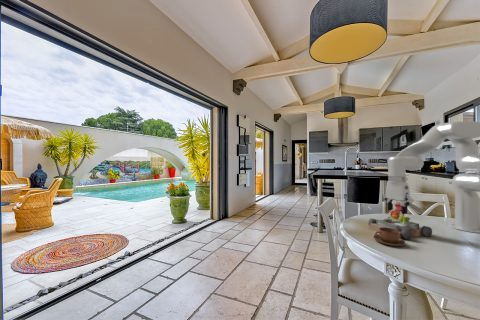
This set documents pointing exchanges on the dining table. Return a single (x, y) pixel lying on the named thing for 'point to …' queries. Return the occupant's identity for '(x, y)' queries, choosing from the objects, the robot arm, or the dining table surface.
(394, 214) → the bird rattle
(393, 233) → the cup and saucer
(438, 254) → the dining table surface
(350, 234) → the dining table surface
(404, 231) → the chassis
